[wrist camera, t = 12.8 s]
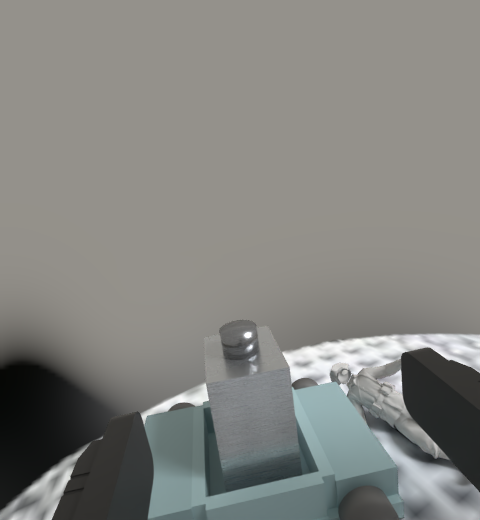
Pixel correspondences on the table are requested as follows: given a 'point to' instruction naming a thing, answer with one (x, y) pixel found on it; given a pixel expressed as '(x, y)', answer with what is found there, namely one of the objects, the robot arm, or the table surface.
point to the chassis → (283, 491)
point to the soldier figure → (383, 401)
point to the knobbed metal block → (251, 406)
